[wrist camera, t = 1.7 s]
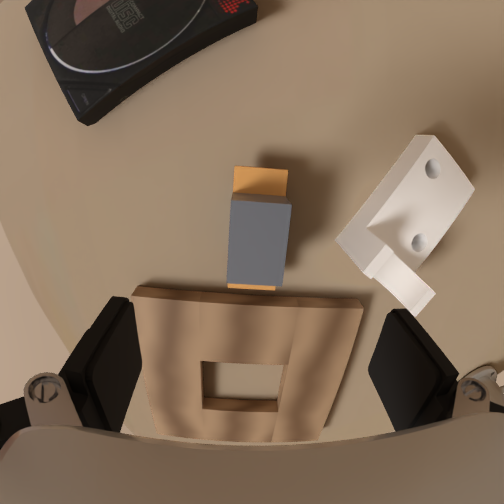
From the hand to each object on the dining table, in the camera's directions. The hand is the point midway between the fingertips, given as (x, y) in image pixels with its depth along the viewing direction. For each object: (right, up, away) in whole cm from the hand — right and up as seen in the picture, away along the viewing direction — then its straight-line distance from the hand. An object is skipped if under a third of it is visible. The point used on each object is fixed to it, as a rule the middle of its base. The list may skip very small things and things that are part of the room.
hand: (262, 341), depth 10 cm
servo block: (0, +6, +16) cm, 17 cm away
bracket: (+14, +7, +16) cm, 23 cm away
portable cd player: (-12, +25, +9) cm, 29 cm away
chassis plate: (-1, -11, +22) cm, 25 cm away
